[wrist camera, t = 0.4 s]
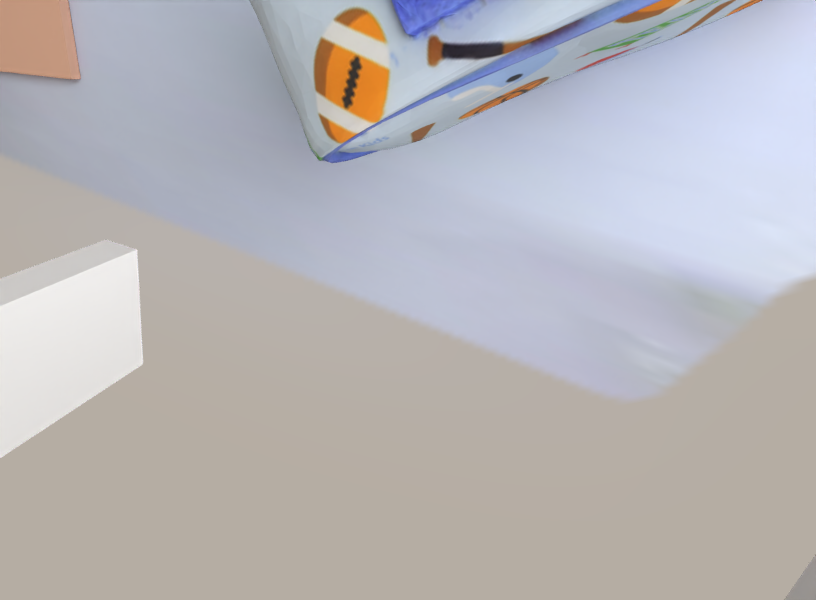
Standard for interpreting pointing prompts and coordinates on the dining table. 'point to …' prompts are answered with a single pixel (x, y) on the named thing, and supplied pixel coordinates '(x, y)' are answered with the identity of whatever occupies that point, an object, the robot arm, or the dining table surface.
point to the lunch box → (446, 57)
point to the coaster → (37, 38)
